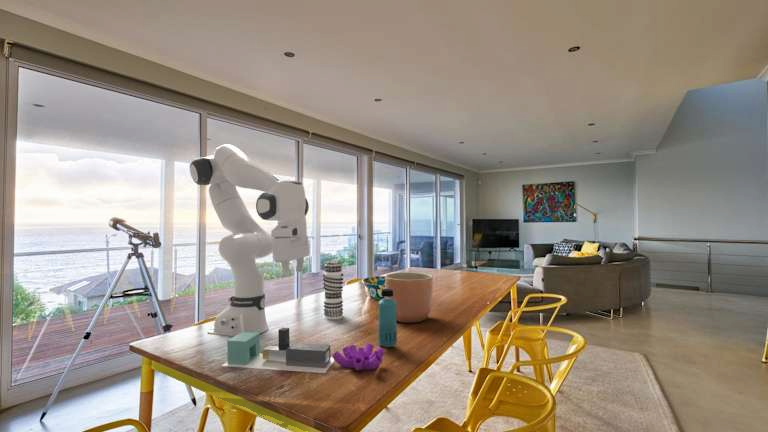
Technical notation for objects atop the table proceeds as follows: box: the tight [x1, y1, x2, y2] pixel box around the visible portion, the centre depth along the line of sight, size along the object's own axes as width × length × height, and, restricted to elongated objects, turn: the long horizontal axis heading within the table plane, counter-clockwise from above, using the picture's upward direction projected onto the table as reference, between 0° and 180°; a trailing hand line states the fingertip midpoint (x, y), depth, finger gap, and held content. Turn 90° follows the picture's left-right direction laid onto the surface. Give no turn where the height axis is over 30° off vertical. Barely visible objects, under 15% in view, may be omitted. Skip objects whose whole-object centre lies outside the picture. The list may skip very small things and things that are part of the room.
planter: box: [384, 271, 434, 324], centre depth 157 cm, size 21×21×19 cm
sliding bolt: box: [262, 327, 329, 363], centre depth 108 cm, size 20×3×9 cm, turn 80°
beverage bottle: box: [377, 288, 398, 347], centre depth 123 cm, size 6×7×20 cm
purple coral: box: [331, 342, 386, 371], centre depth 106 cm, size 11×15×10 cm
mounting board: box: [221, 352, 335, 374], centre depth 109 cm, size 32×11×1 cm, turn 80°
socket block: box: [226, 332, 261, 365], centre depth 111 cm, size 6×8×7 cm
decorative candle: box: [322, 260, 345, 320], centre depth 161 cm, size 9×9×25 cm
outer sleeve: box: [286, 342, 331, 368], centre depth 108 cm, size 12×5×5 cm, turn 80°
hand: (293, 273), depth 114 cm, fingers open, 8 cm apart
